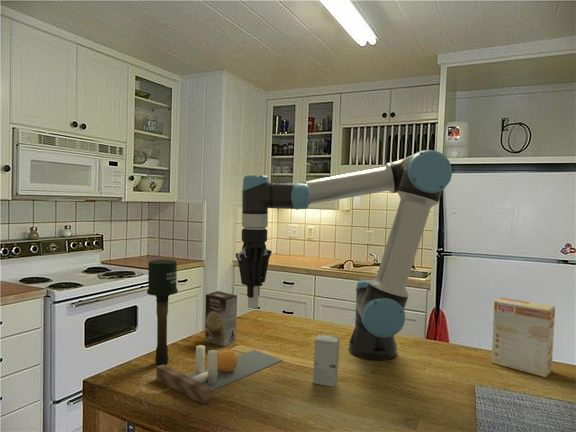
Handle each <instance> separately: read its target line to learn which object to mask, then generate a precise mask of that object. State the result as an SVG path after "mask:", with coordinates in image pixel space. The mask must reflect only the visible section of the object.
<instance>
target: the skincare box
mask: <svg viewBox="0 0 576 432" xmlns="http://www.w3.org/2000/svg"><path fill="white" fill-rule="evenodd" d="M340 340H341V338H340V337H338V336H332V335H324V334H318V335H317V336H316V337H315V340H314V354H313V355H314V357H313V374H312V376H313V377H312V384H316V385H321V386H327V387H332V388H333V387H335V385H336V384H337V382H338V375H339V355H340V342H341V341H340Z"/></svg>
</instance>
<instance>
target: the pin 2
mask: <svg viewBox="0 0 576 432" xmlns="http://www.w3.org/2000/svg"><path fill="white" fill-rule="evenodd" d="M217 356H218V350H216V349H210V350H208V351H207V367H208V384H211V385H213V384H216V383H217Z"/></svg>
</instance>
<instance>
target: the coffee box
mask: <svg viewBox="0 0 576 432" xmlns="http://www.w3.org/2000/svg"><path fill="white" fill-rule="evenodd" d="M204 309H205V315H204V318H205V321H204V341H205V342H207V343H210V344H215V345H218V346H220V347H226V346H230V345H231V344H234V343H235V342H236V343H237V310H238V295H237V294H233V293H228V292H224V291H219V290H217V291H214V292H209V293H207V294H205V308H204Z"/></svg>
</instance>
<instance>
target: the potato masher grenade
mask: <svg viewBox="0 0 576 432" xmlns="http://www.w3.org/2000/svg"><path fill="white" fill-rule="evenodd" d="M177 265H178V264H177V261H176V260H174V259H154V260H150V261H148V270H147V271H148V272H147V273H148V280H147V281H148V282H147V283H148V286H147V287H148V289H146V294H147V295H150V296H154V297H156V298H155V299H156V300H155V302H156V316H157V317H156V318H157V321H156V322H157V331H156V334H157V336H156V339H157V340H156V343H157V344H156V347H155V365H157V366H160V365H165V366H167V365H168V362H169V349H168V337H167V336H168V313H169V297H170V296H171V295H175V294H177V293H178V292H179V290H178V288H177V287H178V286H177V284H178V282H177V281H178V278H177V273H178V272H177V271H178V270H177V269H178V268H177V267H178V266H177Z"/></svg>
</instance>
